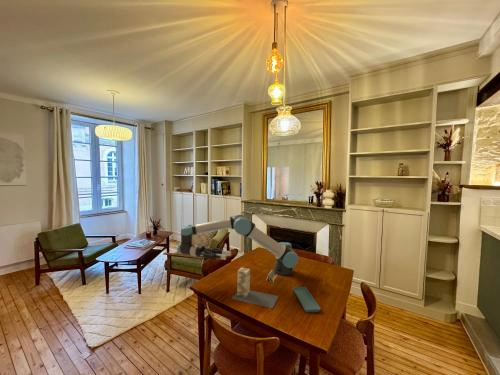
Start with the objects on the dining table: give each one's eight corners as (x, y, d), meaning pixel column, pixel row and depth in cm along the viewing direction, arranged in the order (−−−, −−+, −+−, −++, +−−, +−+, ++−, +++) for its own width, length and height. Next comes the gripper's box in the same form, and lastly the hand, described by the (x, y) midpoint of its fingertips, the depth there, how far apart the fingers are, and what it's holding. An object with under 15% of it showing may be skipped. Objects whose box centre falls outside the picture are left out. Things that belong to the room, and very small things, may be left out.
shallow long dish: (292, 290, 149) (292, 286, 149) (305, 289, 150) (305, 286, 150) (305, 314, 123) (305, 309, 123) (321, 313, 124) (321, 309, 124)
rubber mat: (231, 299, 136) (231, 298, 136) (240, 288, 149) (240, 288, 149) (272, 308, 127) (272, 308, 127) (278, 296, 140) (278, 296, 140)
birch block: (237, 296, 139) (237, 271, 139) (241, 291, 145) (241, 267, 144) (246, 298, 137) (246, 272, 136) (249, 293, 143) (250, 268, 142)
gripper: (206, 252, 162) (234, 256, 153) (189, 261, 143) (220, 266, 135) (206, 241, 161) (234, 245, 153) (189, 249, 143) (220, 254, 135)
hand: (228, 255), depth 144 cm, fingers open, 7 cm apart
